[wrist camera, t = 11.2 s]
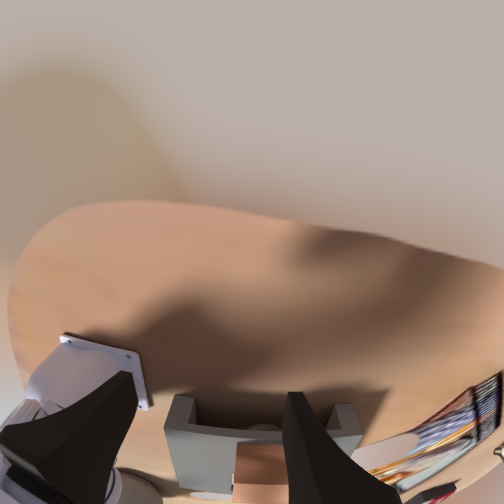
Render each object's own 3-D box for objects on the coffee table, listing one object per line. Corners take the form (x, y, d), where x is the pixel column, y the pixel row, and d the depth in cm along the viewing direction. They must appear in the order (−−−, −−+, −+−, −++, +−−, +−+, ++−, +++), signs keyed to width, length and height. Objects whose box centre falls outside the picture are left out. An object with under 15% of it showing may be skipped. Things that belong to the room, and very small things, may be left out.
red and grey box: (430, 509, 35) (395, 522, 33) (426, 499, 39) (391, 510, 38) (458, 490, 32) (425, 503, 31) (453, 479, 36) (420, 491, 35)
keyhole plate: (185, 461, 28) (179, 487, 24) (174, 394, 24) (163, 427, 20) (320, 467, 28) (325, 493, 24) (352, 403, 24) (363, 434, 20)
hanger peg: (236, 445, 24) (232, 502, 17) (238, 418, 23) (233, 483, 16) (283, 447, 24) (286, 503, 17) (290, 421, 23) (297, 484, 16)
